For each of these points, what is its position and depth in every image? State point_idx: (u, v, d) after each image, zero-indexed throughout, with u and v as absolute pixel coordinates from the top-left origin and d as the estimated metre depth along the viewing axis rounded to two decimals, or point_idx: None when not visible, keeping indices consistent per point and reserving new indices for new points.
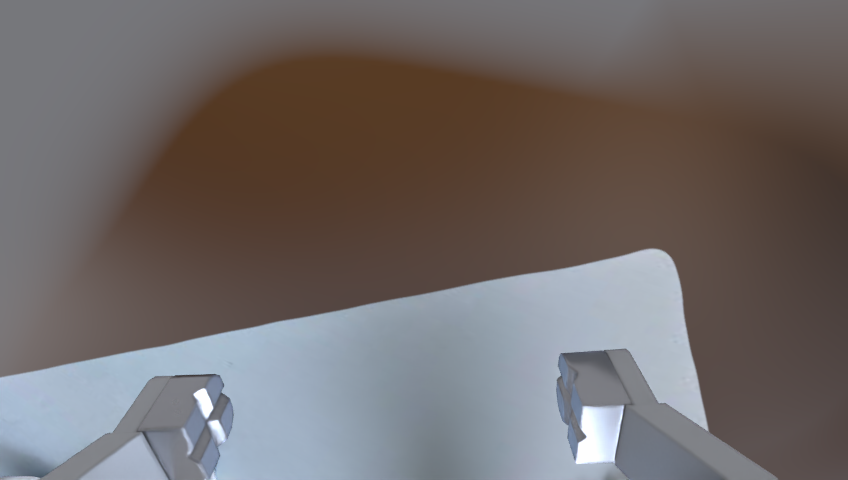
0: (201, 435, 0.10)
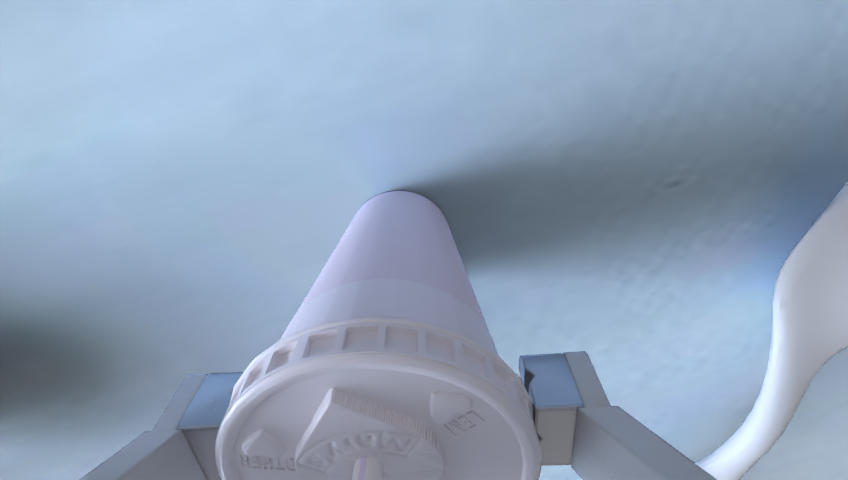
0: None
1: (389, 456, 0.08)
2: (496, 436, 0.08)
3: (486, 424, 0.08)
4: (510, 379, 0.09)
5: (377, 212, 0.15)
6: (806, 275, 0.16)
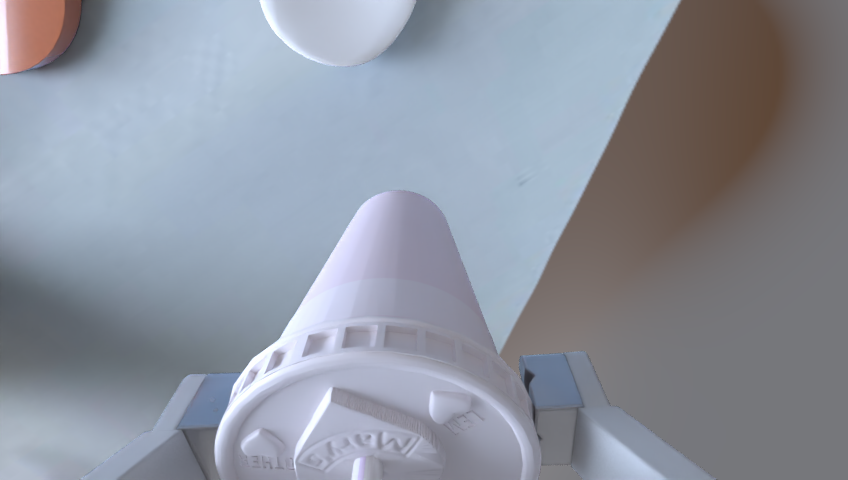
0: None
1: (389, 456, 0.08)
2: (496, 436, 0.08)
3: (486, 424, 0.08)
4: (510, 379, 0.09)
5: (377, 211, 0.15)
6: None
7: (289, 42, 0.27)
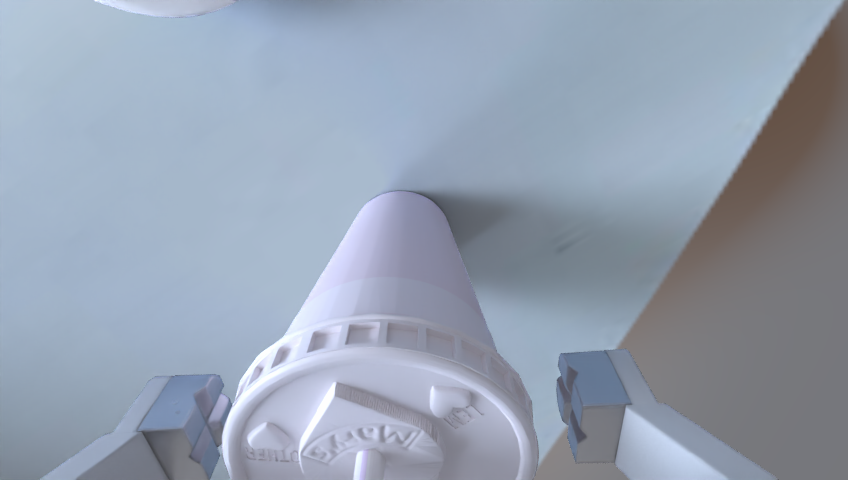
0: (201, 435, 0.10)
1: (390, 449, 0.09)
2: (494, 430, 0.09)
3: (485, 418, 0.09)
4: (508, 374, 0.09)
5: (379, 211, 0.15)
6: None
7: None
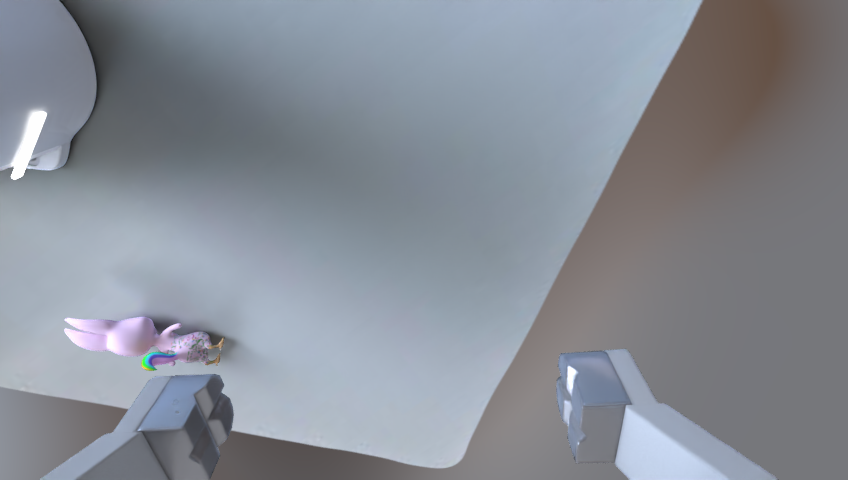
0: (201, 435, 0.10)
1: None
2: None
3: None
4: None
5: None
6: None
7: None
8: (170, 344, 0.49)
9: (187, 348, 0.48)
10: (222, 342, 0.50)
